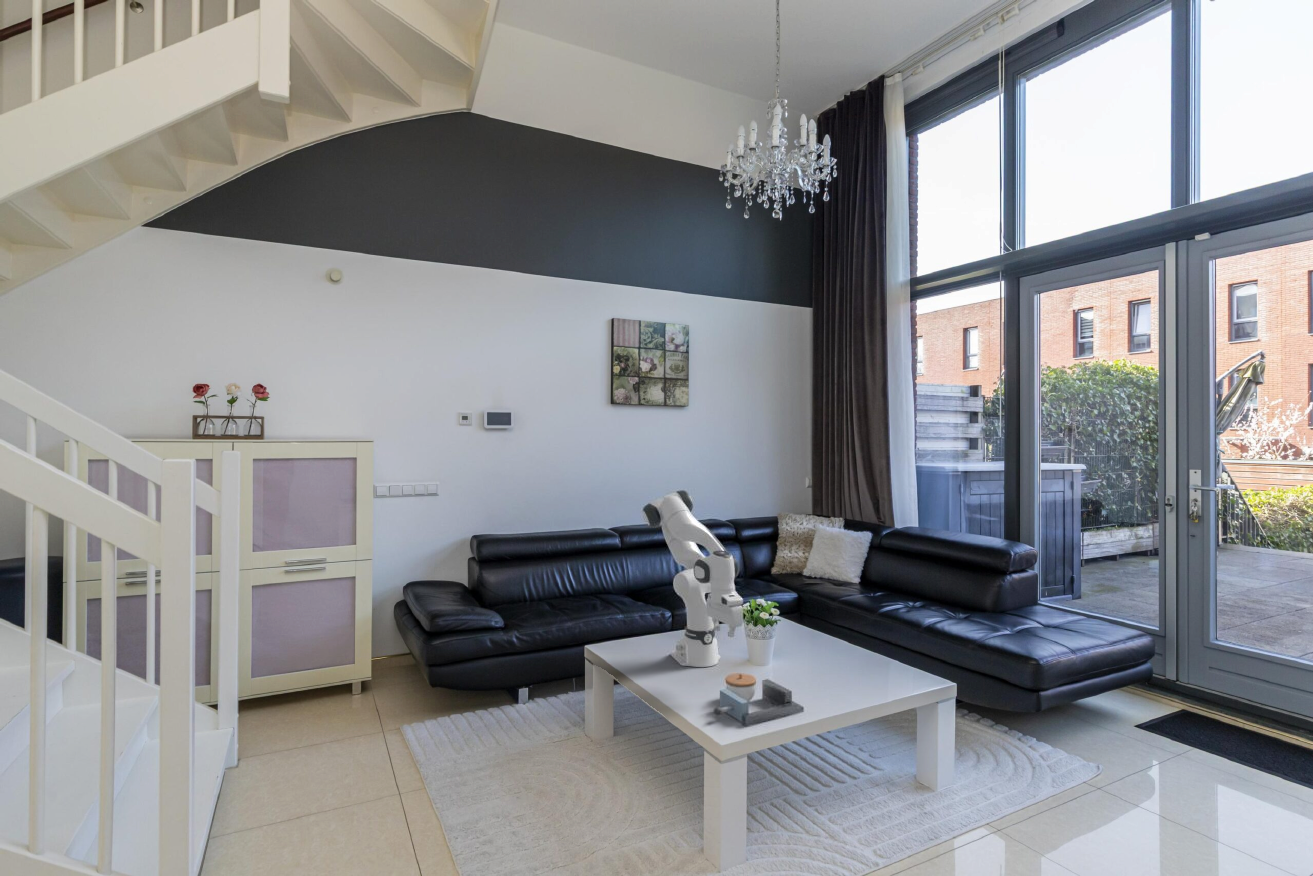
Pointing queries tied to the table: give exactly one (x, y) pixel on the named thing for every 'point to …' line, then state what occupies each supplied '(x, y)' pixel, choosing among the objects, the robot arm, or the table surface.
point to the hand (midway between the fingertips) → (724, 633)
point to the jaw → (732, 705)
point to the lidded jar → (741, 685)
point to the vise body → (777, 698)
